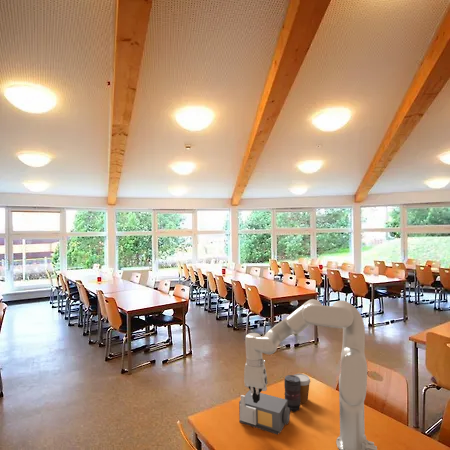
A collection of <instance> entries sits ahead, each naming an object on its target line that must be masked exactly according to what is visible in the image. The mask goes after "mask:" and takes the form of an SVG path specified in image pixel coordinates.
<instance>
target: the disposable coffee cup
mask: <svg viewBox="0 0 450 450" xmlns="http://www.w3.org/2000/svg"><path fill="white" fill-rule="evenodd" d="M293 375H294V376H297V377H299V378H300V381H301V390H300V398H301V402H300V404H306V403H308V402H309V401H308V400H309V391H310V385H311V384H310V383H311V378H310V376H308V375H307V374H304V373H296V374H293Z"/></svg>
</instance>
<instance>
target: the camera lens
mask: <svg viewBox="0 0 450 450" xmlns="http://www.w3.org/2000/svg"><path fill="white" fill-rule="evenodd" d="M294 375H295V374H288V375H285V376H284V379H283V380H284V381H283V382H284V385H283V386H284V399H286V400H288V407H289V408H290V412H298V411H300V407H301V403H300V402H301V398H300V390H301V381H300V378H299V377H297V376H294Z"/></svg>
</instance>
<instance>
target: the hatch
mask: <svg viewBox="0 0 450 450" xmlns="http://www.w3.org/2000/svg"><path fill="white" fill-rule="evenodd" d="M240 400H241V404H240V417H239V420H241V421H244V422H247V423H250V424H253V425H256V408H253V407H250V406H246V405H245V395H244V394H240Z"/></svg>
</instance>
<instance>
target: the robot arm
mask: <svg viewBox="0 0 450 450" xmlns="http://www.w3.org/2000/svg"><path fill="white" fill-rule="evenodd" d="M311 325H312V326H317V327H324V328H325V327H326V328H334V329H342V343H341V344H342V347H341V353H340V372H339V375H338V393H339V396H338V397H339V403H338V404H339V435H338V437H337V438H336V441H335V442H336V444H335V445H336V447H337V448H338V450H378V446H377V445H375V442H374V441H370V440H368V439H367V435H366V434H365V433H366V432H365V400H366V396H367V383H368V361H367V358H366V354H365V346H366V345H365V344H366V343H365V342H366V340H365V339H366V338H365V337H366V330H365V328H366V327H365V324H364V320H363V317H362V315H361V313H360V311H358V309H357V308H356V307H355V306H354V305H352V303H350V302H349V301H345V300H337V301H335V302H334V303H333V304H332V305H331V306H330V305H324V304H322V302H320V301H319V300H317V299H314V298H312V299H309V300H307V301H305V302H304V303H303V304H301V306H299V307H298V308H296V309H295V310H294V311H292V312H291V313H290V314H289V315H288V316H286V317H285V318H284V319H282V320H280V321H279V322H278V323H276V324H275V325H274V326H273V327H271V328H270V329H269V330H268V331H266V333H265V334H264V335H263V336H261V334H259V333H258V332H250V333H247V334H246V335H245V339H244V341H245V358H246V359H245V360H246V361H245V365H244V371H243V373H244V374H243V378H244V379H243V382H244V387H245V388H248V389H249V390H251V393H252V396H253V402H254V403H257V402H258V401H259V400H260V393H262V392H266V391H267V390H268V387H267V385H268V375H267V369H266V365H265V364H266V360H265V359H264V358H263V355H264V354H265V355H273V354H274V353H275V352H277V349H278V347H279V345H280V343H282V342H283V341H284V340H286V339H287V338H288V337H290V336H292V335H300V334H301V333H302V332H304V330H306V329H307V328H308V327H309V326H311Z"/></svg>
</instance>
